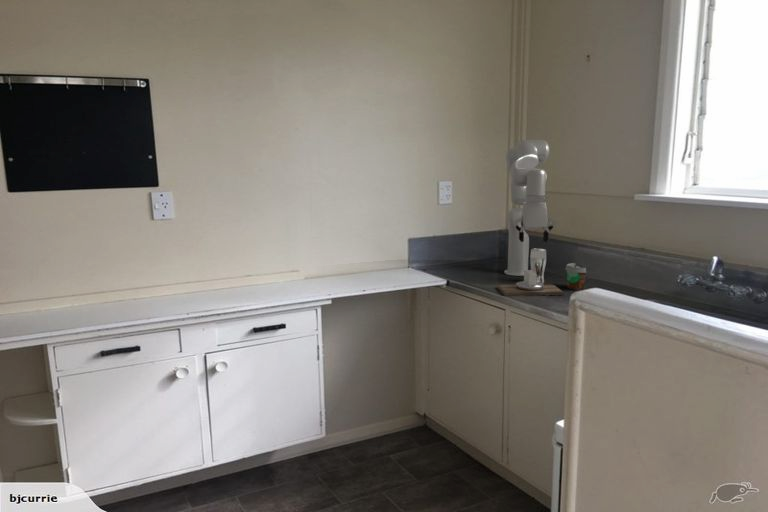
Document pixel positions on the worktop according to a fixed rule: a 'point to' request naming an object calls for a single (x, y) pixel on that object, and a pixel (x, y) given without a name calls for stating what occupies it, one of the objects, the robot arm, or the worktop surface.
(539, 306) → the worktop surface
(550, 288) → the dial board
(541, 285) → the dial
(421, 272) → the worktop surface
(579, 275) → the food container
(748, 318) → the worktop surface
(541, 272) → the beer glass
